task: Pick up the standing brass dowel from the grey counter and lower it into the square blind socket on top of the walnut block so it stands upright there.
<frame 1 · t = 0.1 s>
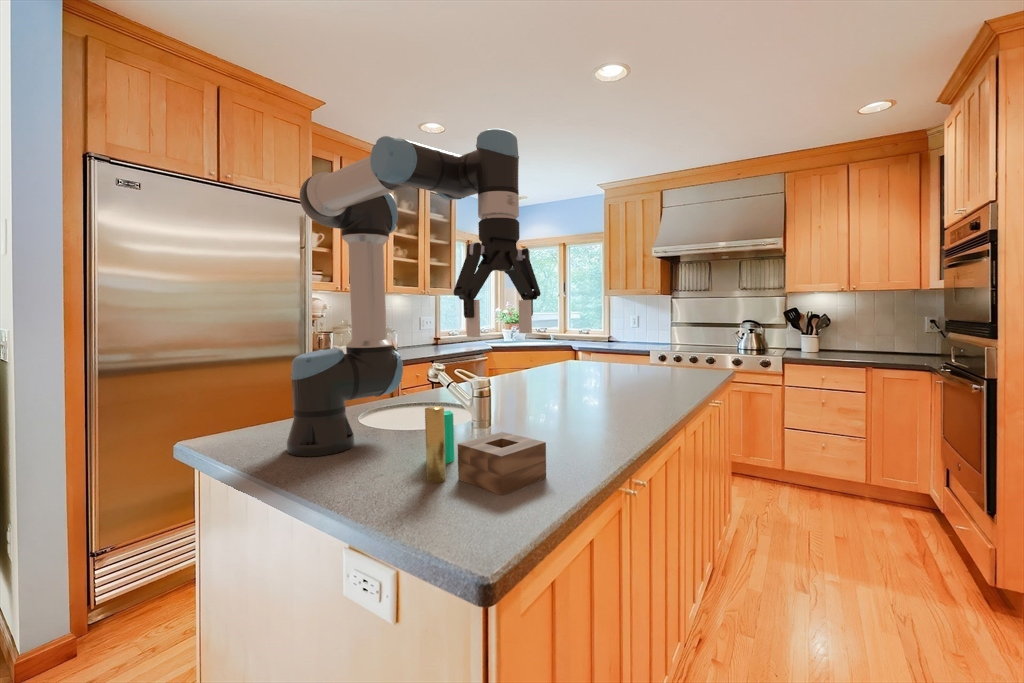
hand: (500, 335, 90), 28 cm above the counter, fingers open, 13 cm apart
candle: (440, 460, 106), on the counter
bore block: (502, 478, 94), on the counter
brass pin: (436, 480, 93), on the counter
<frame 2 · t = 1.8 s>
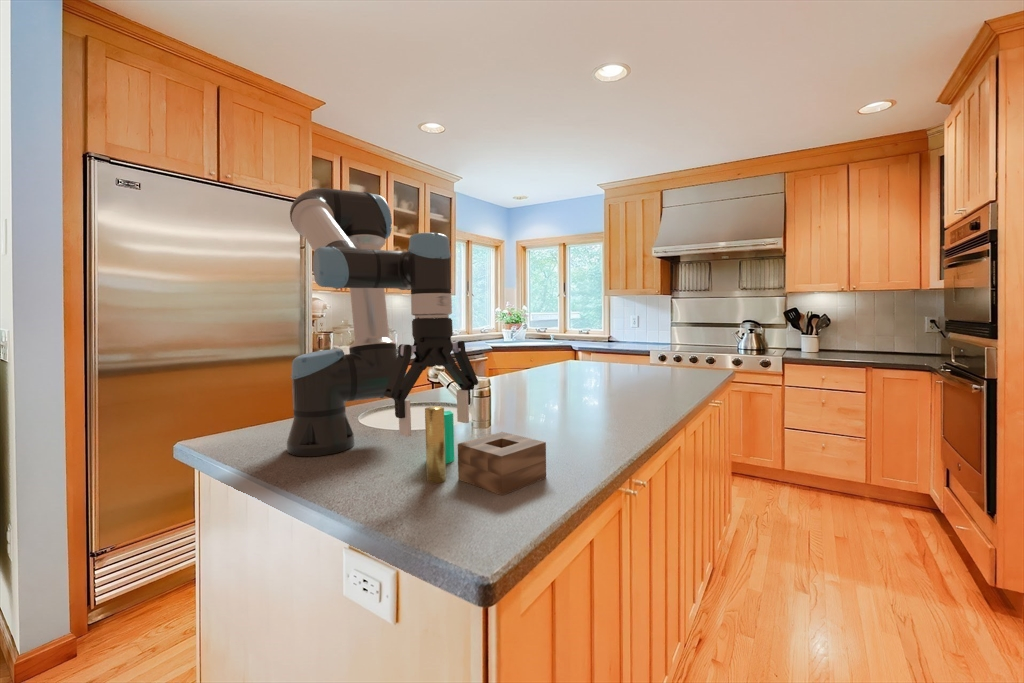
hand: (435, 428, 92), 10 cm above the counter, fingers open, 13 cm apart
nothing on the counter moved.
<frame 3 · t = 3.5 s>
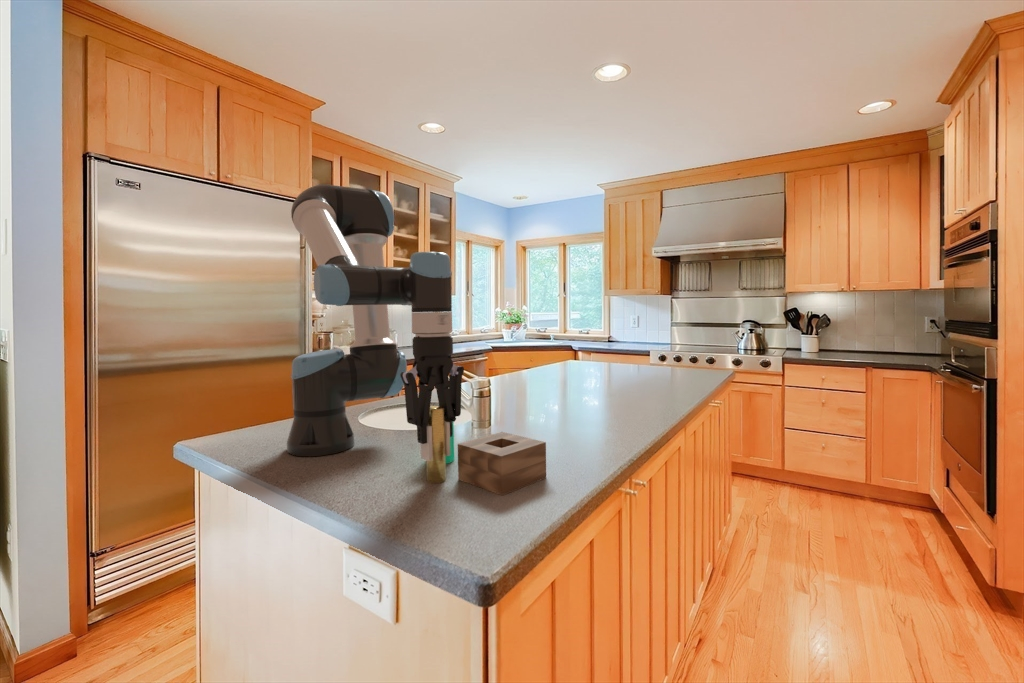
hand: (435, 456, 93), 5 cm above the counter, fingers closed on brass pin, 3 cm apart
brass pin: (436, 479, 93), on the counter, touching gripper
everything else where it was.
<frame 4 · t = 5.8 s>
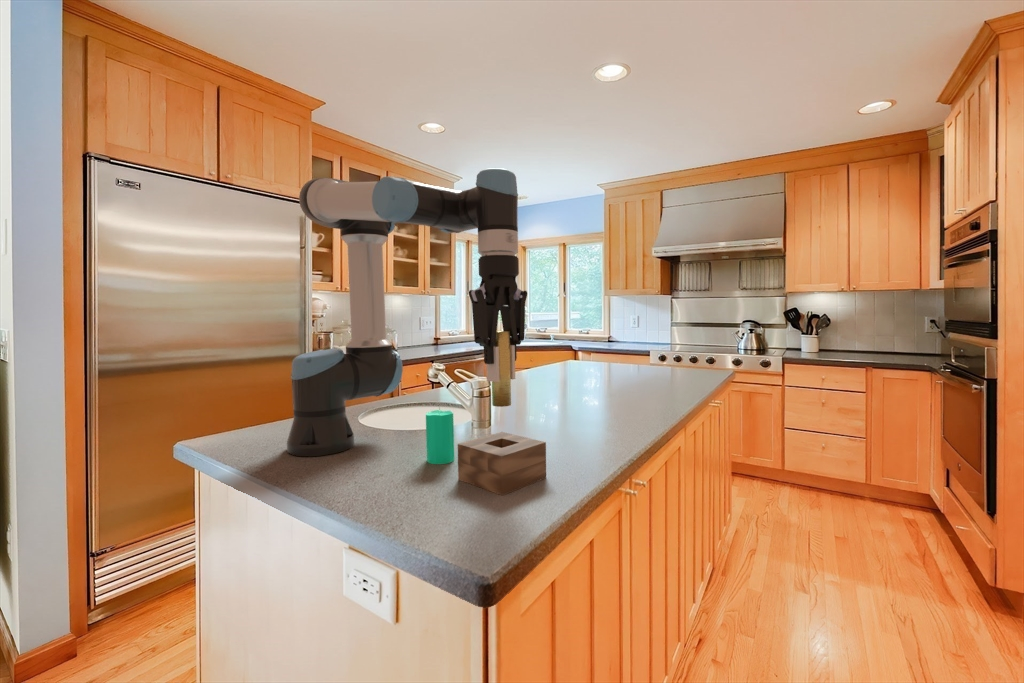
hand: (501, 379, 92), 19 cm above the counter, fingers closed on brass pin, 3 cm apart
brass pin: (501, 404, 92), point 14 cm above the counter, touching gripper
everything else where it was.
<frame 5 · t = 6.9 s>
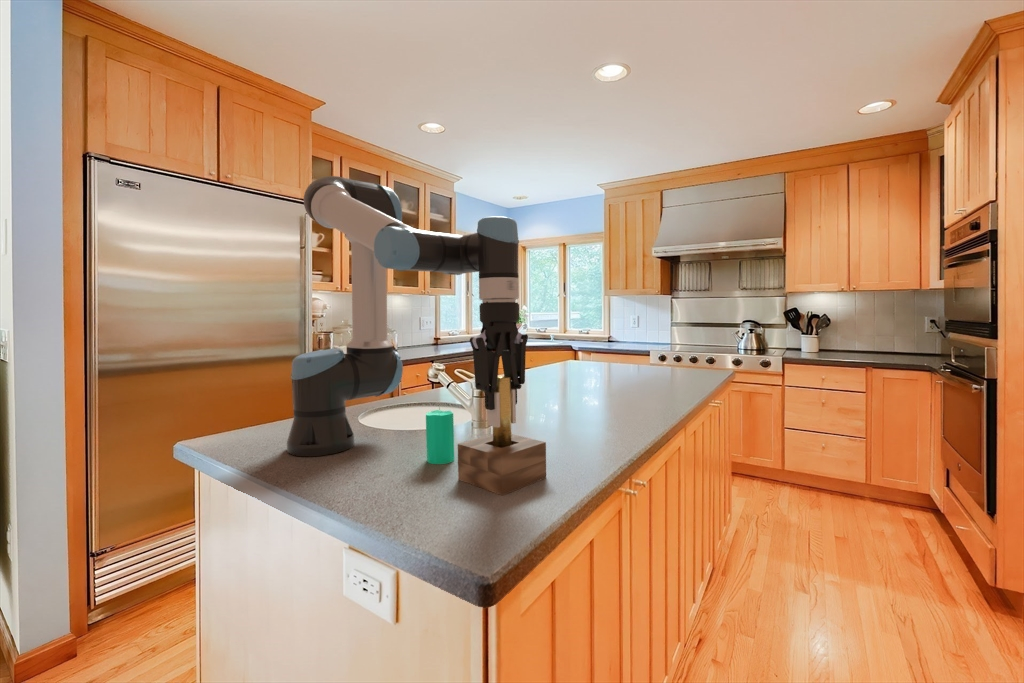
hand: (501, 423, 93), 11 cm above the counter, fingers closed on brass pin, 3 cm apart
brass pin: (502, 449, 93), point 6 cm above the counter, touching gripper
everything else where it was.
when the fingers open (9 cm above the counter, at t = 8.0 s): brass pin stays where it is, resting on bore block.
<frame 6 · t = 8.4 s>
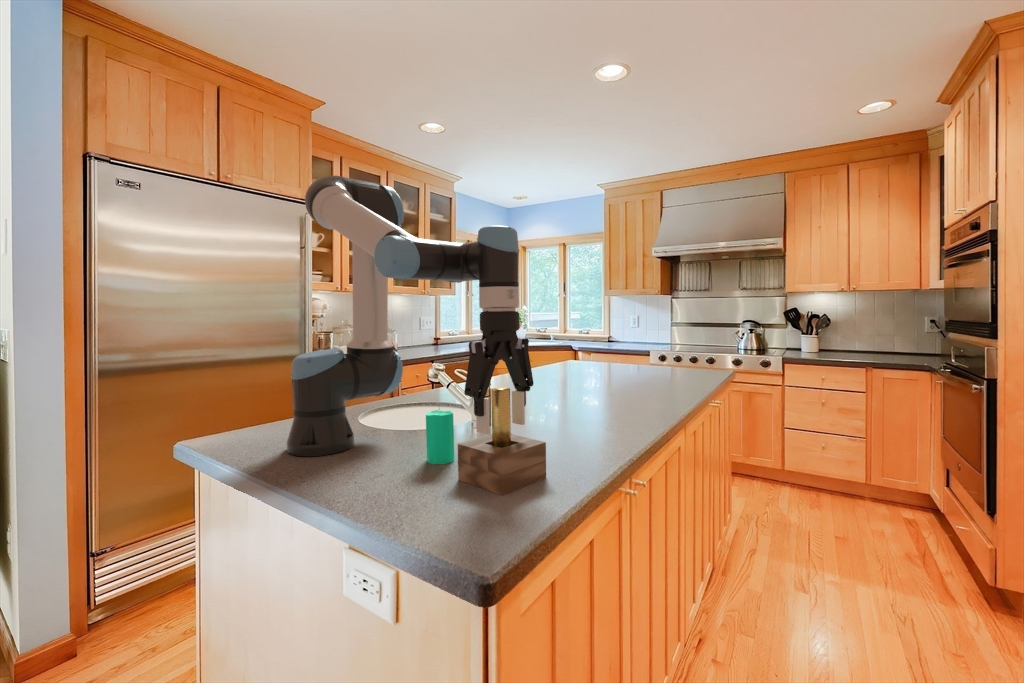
hand: (501, 428, 93), 10 cm above the counter, fingers open, 9 cm apart
brass pin: (501, 460, 93), point 4 cm above the counter, touching bore block
everything else where it was.
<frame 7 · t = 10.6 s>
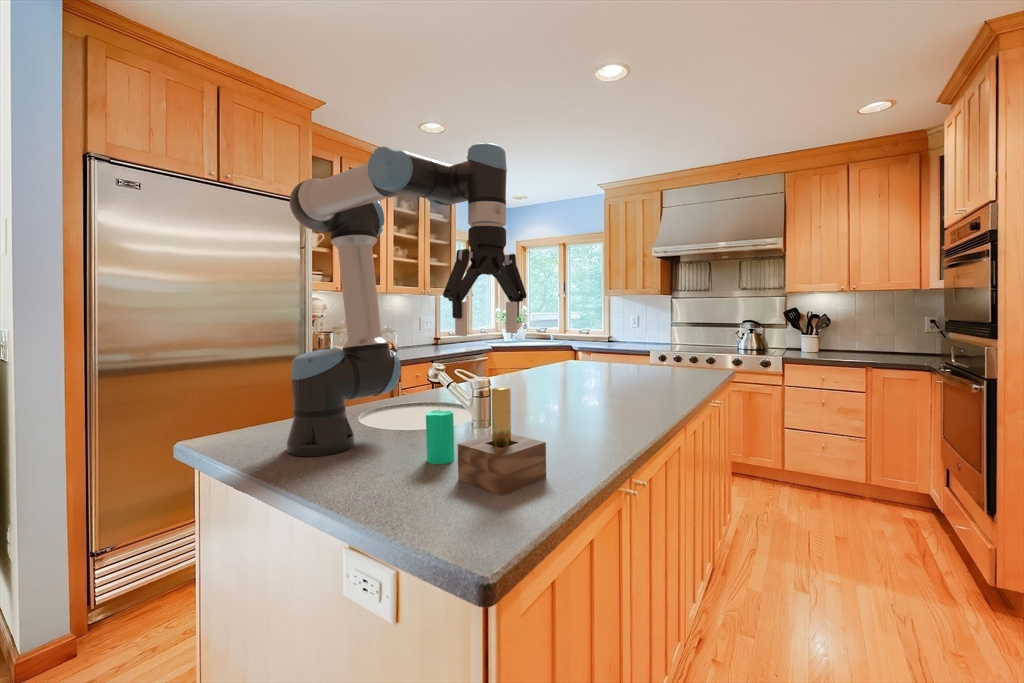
hand: (487, 334, 97), 28 cm above the counter, fingers open, 13 cm apart
nothing on the counter moved.
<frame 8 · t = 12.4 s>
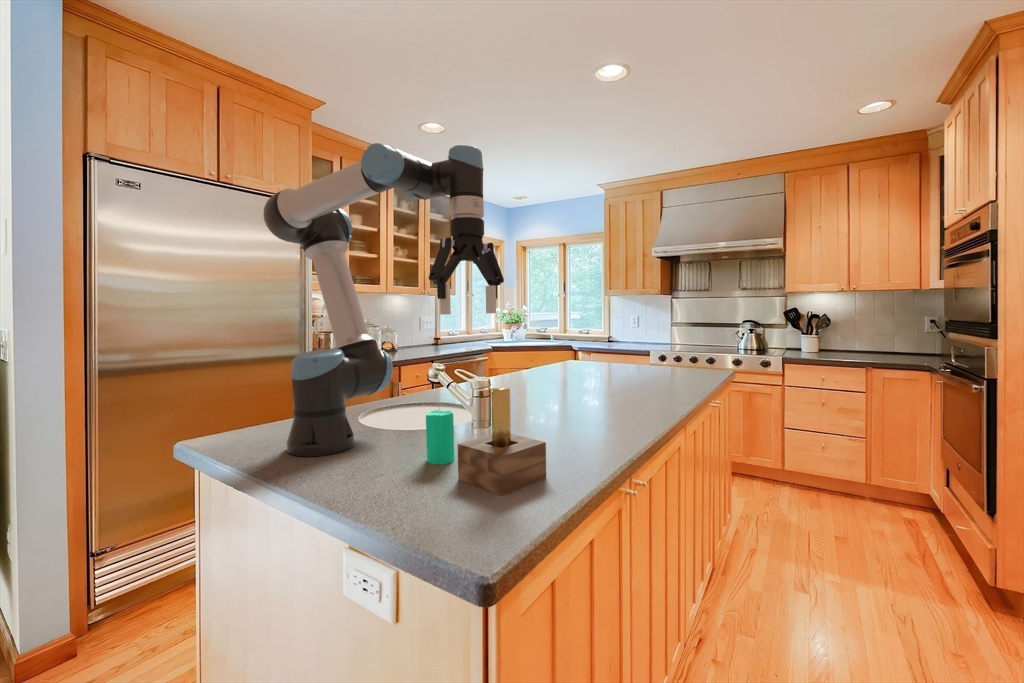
hand: (469, 314, 110), 32 cm above the counter, fingers open, 13 cm apart
nothing on the counter moved.
at the end: brass pin 0.0 cm off-centre on the bore block, point 3.5 cm above the bore block's base; brass pin tilted 0°; the gripper is holding nothing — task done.
